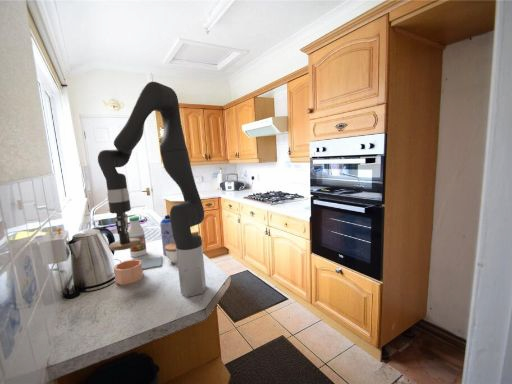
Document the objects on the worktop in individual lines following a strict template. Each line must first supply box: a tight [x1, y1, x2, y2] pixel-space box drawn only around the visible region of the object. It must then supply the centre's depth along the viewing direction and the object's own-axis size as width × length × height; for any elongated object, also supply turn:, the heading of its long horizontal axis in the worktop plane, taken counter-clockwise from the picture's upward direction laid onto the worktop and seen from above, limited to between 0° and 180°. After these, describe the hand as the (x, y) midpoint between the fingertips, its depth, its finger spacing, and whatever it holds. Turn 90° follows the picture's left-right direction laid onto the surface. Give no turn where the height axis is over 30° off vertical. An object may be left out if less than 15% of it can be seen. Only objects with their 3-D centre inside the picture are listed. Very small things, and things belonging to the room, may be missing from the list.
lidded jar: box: [165, 242, 178, 264], centre depth 123 cm, size 11×11×9 cm
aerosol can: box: [159, 214, 175, 257], centre depth 132 cm, size 8×8×20 cm
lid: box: [108, 232, 141, 252], centre depth 105 cm, size 12×12×5 cm
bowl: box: [113, 258, 144, 286], centre depth 107 cm, size 10×10×6 cm
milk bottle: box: [127, 215, 147, 258], centre depth 132 cm, size 8×8×20 cm
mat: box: [140, 255, 163, 271], centre depth 121 cm, size 11×11×1 cm
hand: (124, 241), depth 105 cm, fingers closed on lid, 3 cm apart
